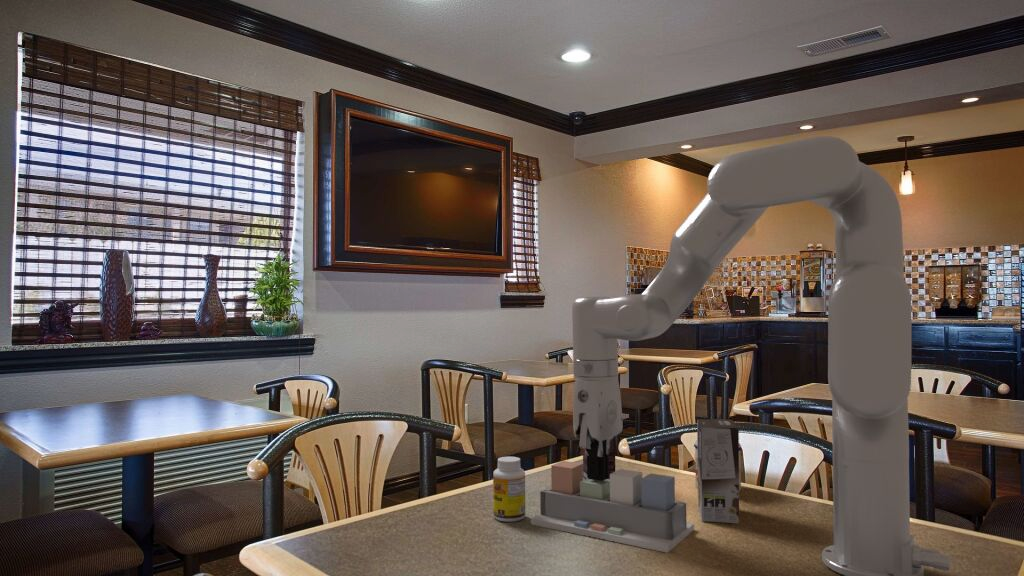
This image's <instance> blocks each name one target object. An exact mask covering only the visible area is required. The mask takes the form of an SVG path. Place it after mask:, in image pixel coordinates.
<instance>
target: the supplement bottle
mask: <svg viewBox="0 0 1024 576" xmlns="http://www.w3.org/2000/svg"><path fill="white" fill-rule="evenodd" d="M492 480H493V481H492V485H493V487H492V488H493V489H492V491H493V492H492V493H493V496H492V497H493V499H492V500H493V501H492V503H493V505H492V506H493V517H494V518H495V519H496V520H497V521H499V522H504V523H505V522H506V523H513V522H519V521H521V520H523V519H524V518H525V516H526V472H525V470H524V469H523V468H522V467H521V458H520V457H516V456H502V457H499V458H498V459H497V468H495V470H493V476H492Z"/></svg>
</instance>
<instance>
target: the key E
mask: <svg viewBox="0 0 1024 576" xmlns="http://www.w3.org/2000/svg"><path fill="white" fill-rule="evenodd" d="M580 496H582V497H588V498H593V499H599V500H604V499H606V498H607V497H609V496H610V480H609V479H606V480H604V481H599V480H592V479H588V478H587V479H585V480H583V481H581V482H580Z"/></svg>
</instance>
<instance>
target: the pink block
mask: <svg viewBox="0 0 1024 576" xmlns="http://www.w3.org/2000/svg"><path fill="white" fill-rule="evenodd" d="M550 467H551V473H550V474H551V486H552V491H553V492H559V493H564V494H570V495H574V494H576V493H578V492H580V482H581V481H583V462H581V463H580V462H574V461H567V460H561V461H558V462H556V463H555V464H552V465H551V466H550Z"/></svg>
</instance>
